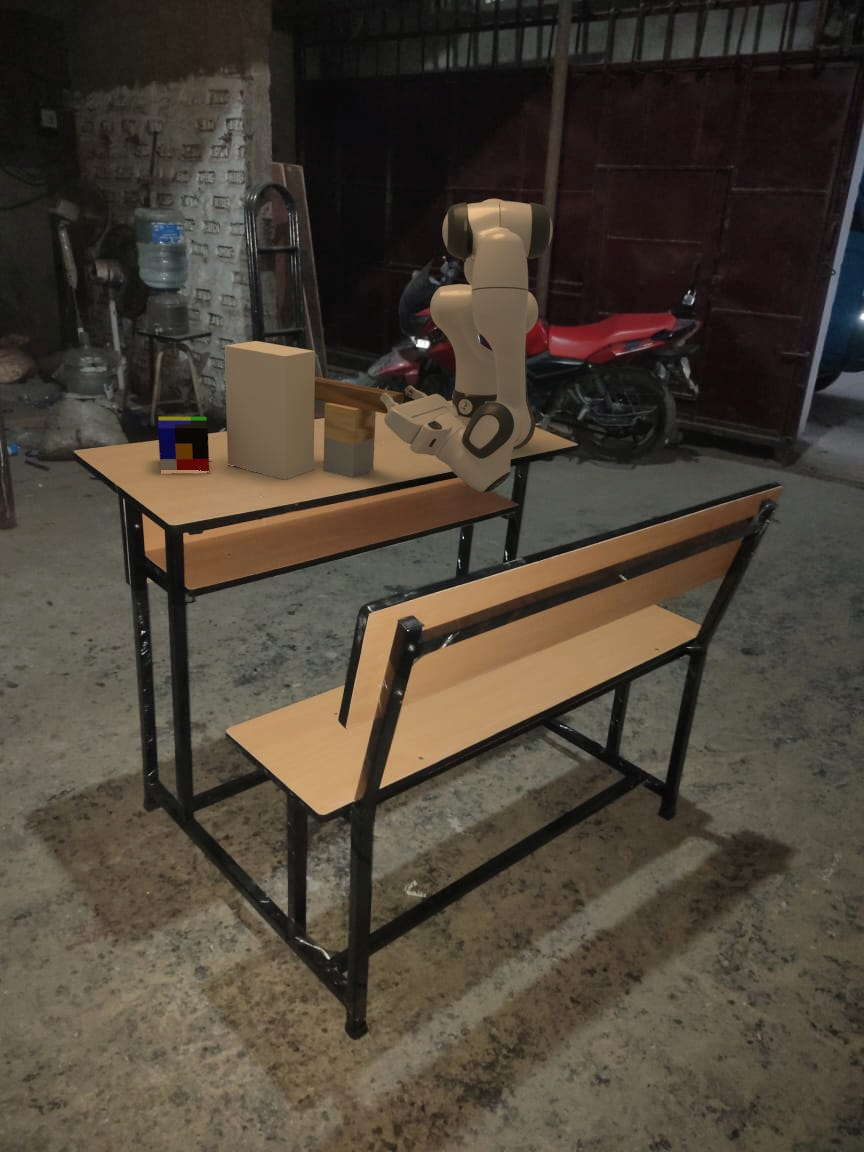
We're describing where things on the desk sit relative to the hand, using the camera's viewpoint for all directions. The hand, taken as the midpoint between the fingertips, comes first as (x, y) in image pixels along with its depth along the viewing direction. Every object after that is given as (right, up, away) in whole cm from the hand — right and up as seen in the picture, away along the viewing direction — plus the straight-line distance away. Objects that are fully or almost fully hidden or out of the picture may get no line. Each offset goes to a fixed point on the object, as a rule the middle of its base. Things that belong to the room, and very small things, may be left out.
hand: (395, 391), depth 180 cm
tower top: (-10, -8, +10) cm, 16 cm away
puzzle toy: (-46, -15, +7) cm, 49 cm away
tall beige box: (-28, -15, +10) cm, 33 cm away
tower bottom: (-11, -15, +13) cm, 23 cm away
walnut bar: (-10, -1, +7) cm, 12 cm away
